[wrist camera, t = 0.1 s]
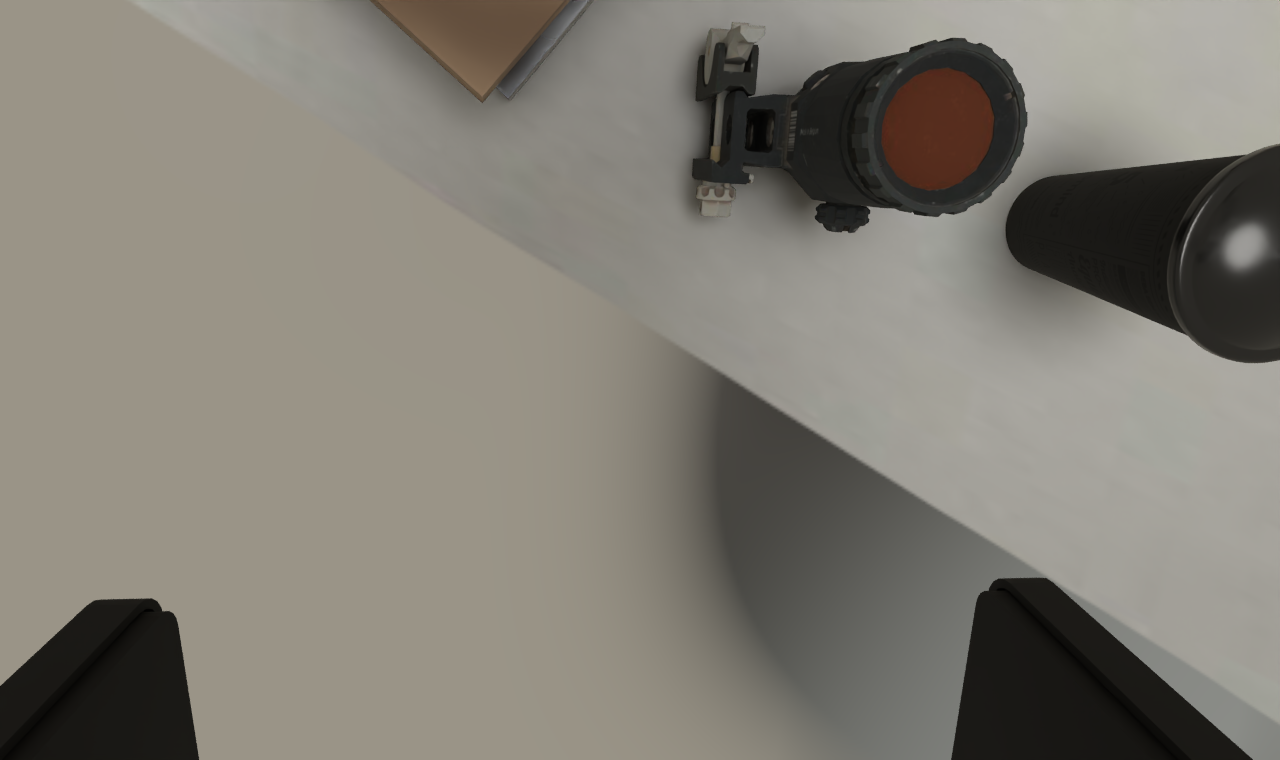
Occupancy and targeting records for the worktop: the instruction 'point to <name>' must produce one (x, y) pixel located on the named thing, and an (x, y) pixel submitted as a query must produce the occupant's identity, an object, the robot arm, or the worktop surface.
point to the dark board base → (542, 47)
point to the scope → (864, 129)
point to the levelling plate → (474, 34)
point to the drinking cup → (1167, 245)
